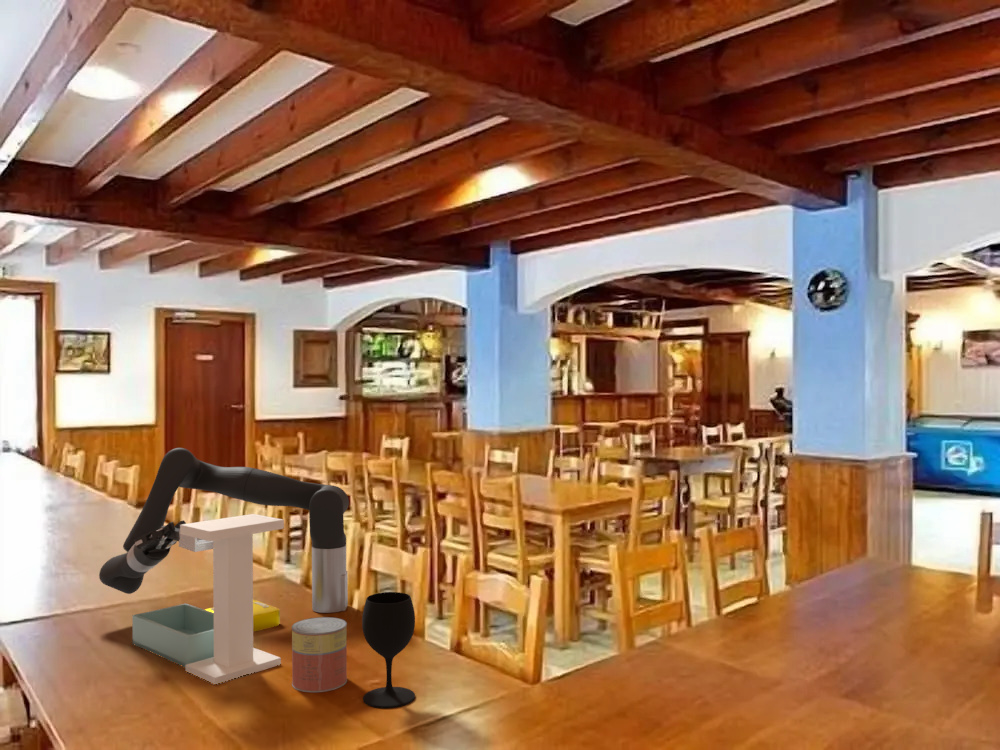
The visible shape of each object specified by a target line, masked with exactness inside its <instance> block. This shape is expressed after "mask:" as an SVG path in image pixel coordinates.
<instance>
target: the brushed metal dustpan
mask: <svg viewBox="0 0 1000 750" xmlns="http://www.w3.org/2000/svg"><path fill="white" fill-rule="evenodd" d="M165 526H166V525H164V526H161V528H164V527H165ZM167 538H170V539H173V540H176V541H177V542H178V547H180V548H182V549H185V550H186V551H190V552H193V553H196V552H204V551H209V550H213V541H207V540H203V539H199V538H195V537H190V536H186V535H182V534H180V528H177V527H175V531H174V532H172V533H171V534H170V535H169V536H167Z"/></svg>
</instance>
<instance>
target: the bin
mask: <svg viewBox="0 0 1000 750" xmlns="http://www.w3.org/2000/svg"><path fill="white" fill-rule="evenodd" d="M131 618H132V619H131V620H132V645H133V644H135V645H136V646H135V645H134V646H135V647H137V646H139V647H141V648H144V649H146V650H148V651H151V652H153V653H155V654H157V655H160V656H162V657H164V658H166V659H168V660H167V661H169V660H170V661H169V662H171V661H172V662H171V663H173V662H175V663H177V664H176V665H178V664H179V665H178V666H180V665H182V666H183V667H182V666H181V667H182V668H184V667H185V665H187V664H190V663H194V662H197V661H201V660H204V659H208V658H211V657H214V613H213V612H210V611H207V610H205V609H204V608H202V607H198V606H195V605H191V604H190V603H182V604H176V605H173V606H167V607H162V608H159V609H155V610H149V611H146V612H141V613H137V614H132V617H131ZM139 647H138V648H139ZM141 648H140V649H141ZM144 649H143V650H144ZM146 650H145V651H146ZM148 651H147V652H148ZM153 653H152V654H153ZM155 654H154V655H155ZM157 655H156V656H157ZM160 656H159V657H160ZM162 657H161V658H162ZM164 658H163V659H164ZM166 659H165V660H166ZM175 663H174V664H175Z"/></svg>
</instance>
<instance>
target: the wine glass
mask: <svg viewBox="0 0 1000 750" xmlns="http://www.w3.org/2000/svg"><path fill="white" fill-rule="evenodd" d="M413 604H414V602H413V601H412V598H411V596H410V594H408V593H405V592H397V591H385V592H378V593H373V594H371V595H369V596H366V599H365V603H364V606H363V611H362V618H361V624H362V627H361V628H362V632H363V637H364V639H365V640H366V643H367V644H368V645H369V647H370V648H371V649H372V650H373V651H374V652H375V653H377V654H378V655H380V656H381V657H383V659H384V660H385V666H386V667H385V668H386V681H385V682H386V683H385V686H384V687H376V688H374V689H372V690H369V691H367V692H366V693H364V695H363V697H362V700H363V701H362V702H363V703H364V704H365V705H367V706H369V707H372V708H377V709H396V708H402V707H404V706H407V705H409V704H411V703H413V701H415V699H416V693H415V692H414V691H413V690H412V689H410V688H406V687H403V686H393V683H392V682H393V681H392V679H393V678H392V669H393V667H392V666H393V659H394V658H395V657H396V656H397V655H398V654H400V653H401V652H402V651H403V650H404V649H406V647H407V646H408V644H409V643H410V641H411V640H412V637H413V635H414V632H415V627H416V615H415V613H416V612H415V607H414V605H413Z"/></svg>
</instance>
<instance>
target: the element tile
mask: <svg viewBox="0 0 1000 750" xmlns="http://www.w3.org/2000/svg"><path fill="white" fill-rule="evenodd" d="M204 610H207V611H210V612H213V613H214V607H208V608H205V609H204ZM280 611H281V610H280V608H278V607H275V606H273V605H270V604H267V603H265V602H262V601H260V600H257V599H253V633H254V632H259V631H262V630H266V629H270V628H274V626H275V627H277V626H279V624H281V612H280Z"/></svg>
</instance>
